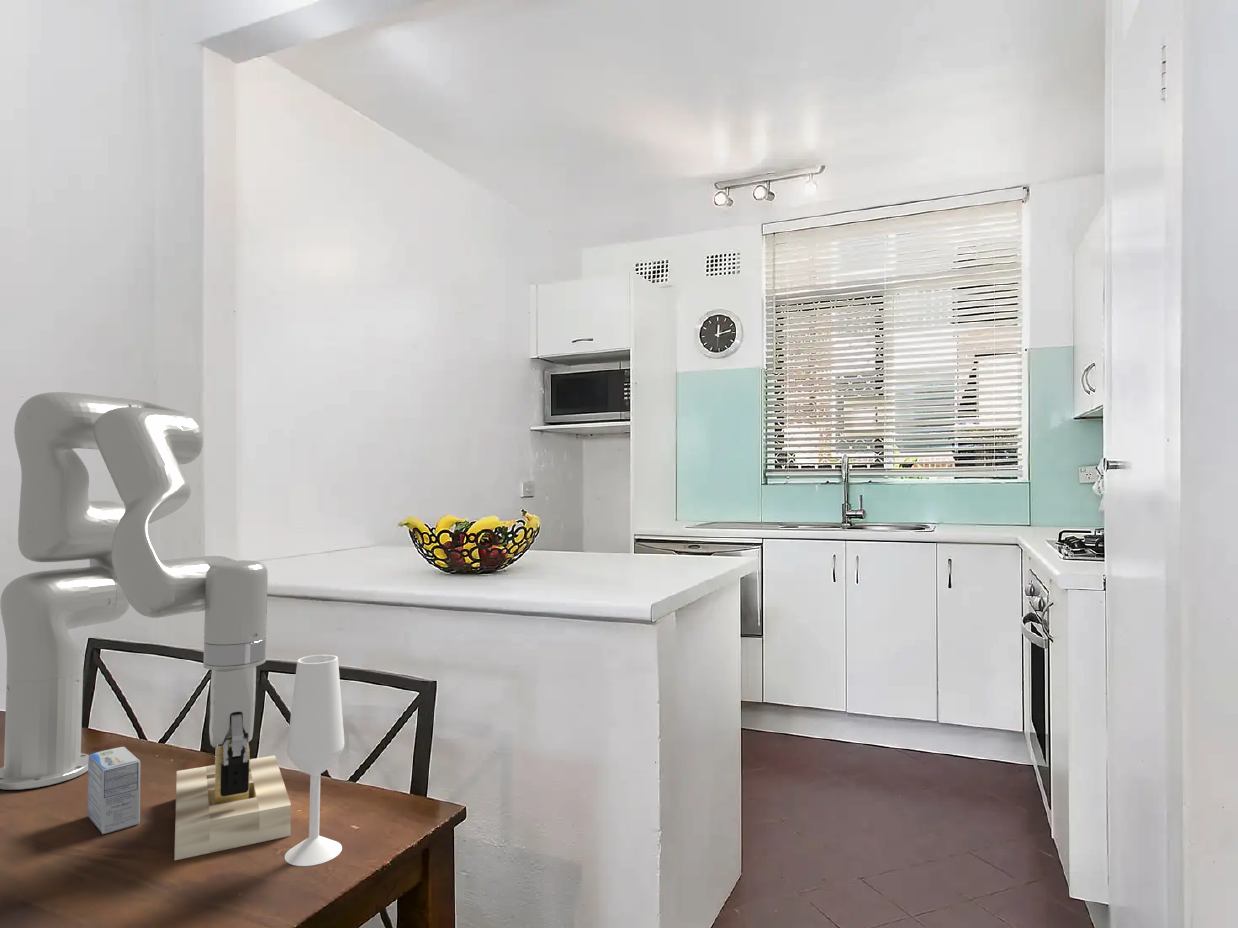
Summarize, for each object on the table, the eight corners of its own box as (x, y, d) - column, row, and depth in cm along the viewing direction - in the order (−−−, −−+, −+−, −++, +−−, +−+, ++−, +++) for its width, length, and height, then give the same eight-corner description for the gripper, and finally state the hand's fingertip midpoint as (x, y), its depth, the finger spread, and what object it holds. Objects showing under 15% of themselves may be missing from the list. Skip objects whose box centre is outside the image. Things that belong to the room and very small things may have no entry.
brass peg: (213, 820, 101) (215, 746, 101) (246, 814, 103) (248, 741, 103) (214, 832, 98) (215, 756, 98) (248, 826, 100) (249, 750, 100)
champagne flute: (272, 862, 90) (276, 663, 91) (307, 836, 97) (311, 651, 97) (320, 869, 89) (325, 667, 89) (353, 842, 95) (356, 654, 96)
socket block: (175, 798, 108) (176, 770, 108) (274, 781, 114) (274, 755, 114) (174, 860, 90) (175, 827, 90) (290, 835, 97) (291, 804, 97)
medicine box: (140, 824, 100) (142, 759, 100) (100, 836, 96) (102, 768, 97) (124, 806, 105) (125, 744, 105) (86, 816, 102) (87, 753, 102)
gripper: (202, 643, 106) (199, 763, 106) (205, 670, 91) (201, 811, 91) (260, 638, 110) (257, 754, 110) (272, 663, 95) (269, 798, 95)
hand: (232, 780), depth 100 cm, fingers open, 9 cm apart
